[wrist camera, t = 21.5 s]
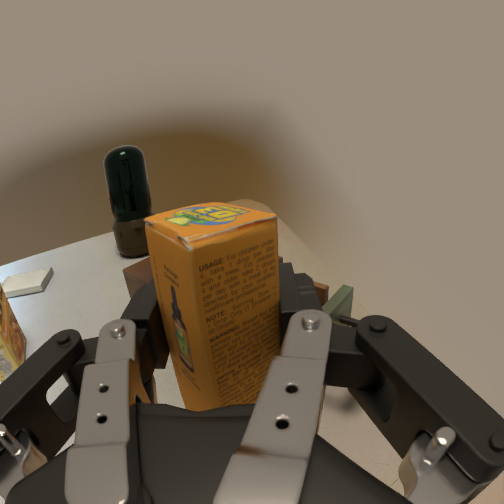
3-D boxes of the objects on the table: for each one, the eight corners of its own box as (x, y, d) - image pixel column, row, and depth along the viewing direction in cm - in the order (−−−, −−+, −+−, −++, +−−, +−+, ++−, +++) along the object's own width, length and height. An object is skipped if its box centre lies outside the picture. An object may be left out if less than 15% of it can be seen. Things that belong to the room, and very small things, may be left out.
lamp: (137, 262, 59) (116, 148, 50) (110, 255, 63) (89, 153, 54) (171, 244, 66) (155, 139, 57) (142, 238, 71) (126, 144, 62)
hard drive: (51, 266, 56) (7, 275, 54) (40, 284, 49) (-7, 293, 46) (54, 273, 57) (9, 282, 54) (43, 292, 50) (-4, 300, 47)
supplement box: (290, 427, 13) (287, 210, 9) (230, 469, 11) (175, 248, 7) (244, 390, 15) (219, 194, 11) (188, 423, 13) (129, 220, 9)
